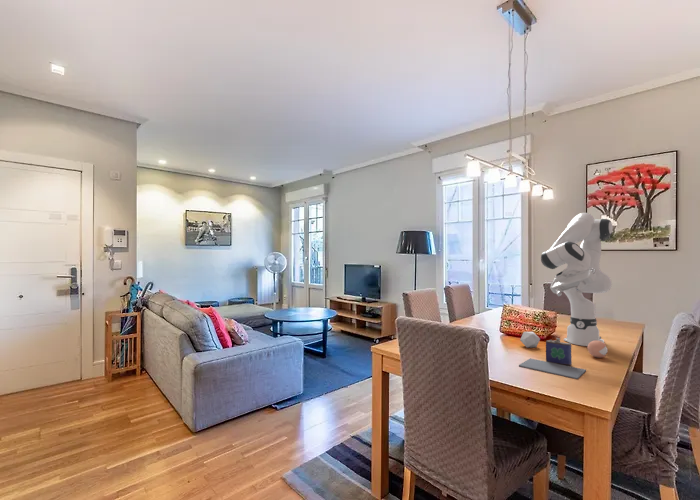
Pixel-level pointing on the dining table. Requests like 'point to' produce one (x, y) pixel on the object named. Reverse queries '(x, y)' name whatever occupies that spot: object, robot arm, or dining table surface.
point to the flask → (558, 352)
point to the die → (530, 339)
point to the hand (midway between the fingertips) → (568, 292)
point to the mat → (553, 368)
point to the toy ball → (597, 349)
